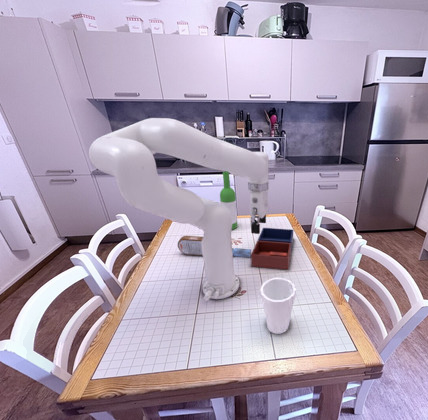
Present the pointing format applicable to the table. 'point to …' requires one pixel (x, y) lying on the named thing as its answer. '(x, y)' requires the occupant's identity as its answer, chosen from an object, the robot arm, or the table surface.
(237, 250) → the blue spoon
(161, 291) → the table surface
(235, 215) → the wine bottle
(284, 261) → the red bin
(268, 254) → the red spoon
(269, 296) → the foam cup
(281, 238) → the blue bin
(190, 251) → the tin
